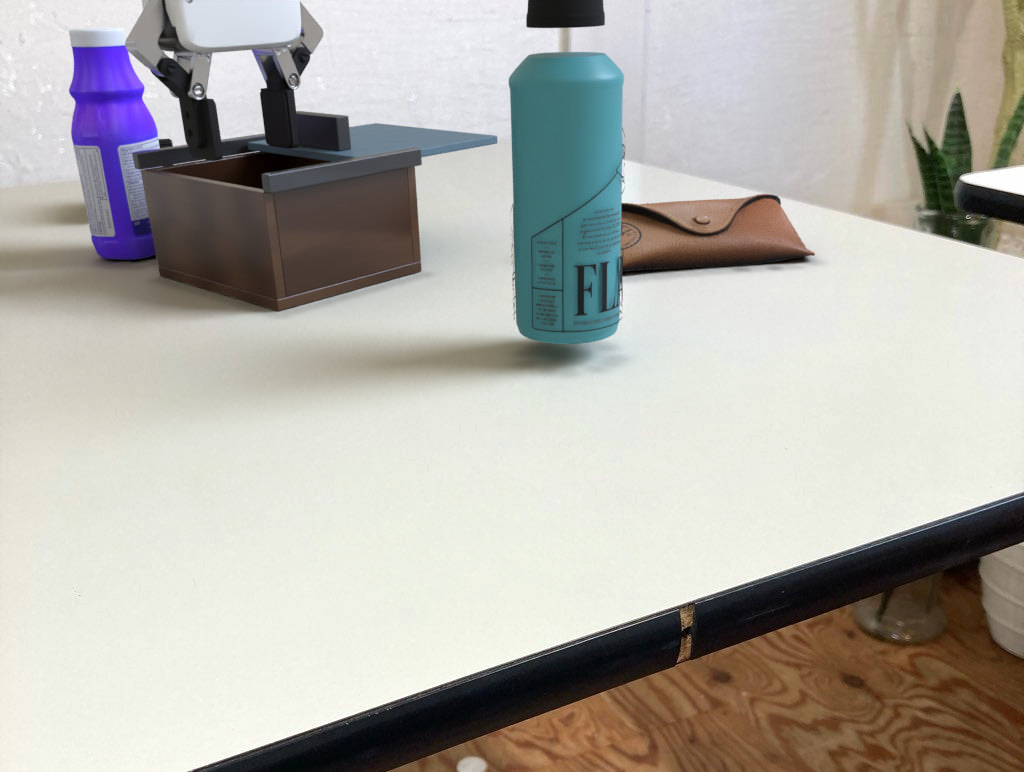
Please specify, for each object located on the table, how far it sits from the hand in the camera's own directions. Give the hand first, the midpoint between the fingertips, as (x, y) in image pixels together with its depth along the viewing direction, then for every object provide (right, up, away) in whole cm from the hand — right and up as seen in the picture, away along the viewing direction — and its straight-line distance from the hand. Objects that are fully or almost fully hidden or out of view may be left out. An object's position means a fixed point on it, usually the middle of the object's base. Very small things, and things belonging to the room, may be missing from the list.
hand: (245, 150), depth 75 cm
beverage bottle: (+23, -17, -12) cm, 31 cm away
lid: (+8, +3, +8) cm, 12 cm away
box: (+2, -8, +6) cm, 10 cm away
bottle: (-13, -4, +13) cm, 19 cm away
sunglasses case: (+34, -6, +8) cm, 35 cm away
